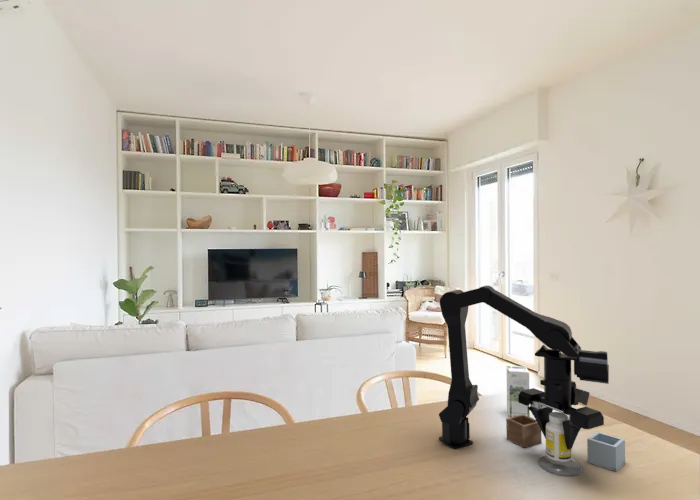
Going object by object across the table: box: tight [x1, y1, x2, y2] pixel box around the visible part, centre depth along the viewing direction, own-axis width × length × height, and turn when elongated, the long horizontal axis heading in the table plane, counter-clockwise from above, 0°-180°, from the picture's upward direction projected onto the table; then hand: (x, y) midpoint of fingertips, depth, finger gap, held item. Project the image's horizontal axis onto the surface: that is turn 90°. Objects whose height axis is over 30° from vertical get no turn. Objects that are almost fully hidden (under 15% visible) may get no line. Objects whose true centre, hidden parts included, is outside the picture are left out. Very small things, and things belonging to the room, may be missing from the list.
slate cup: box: [586, 431, 626, 473], centre depth 101 cm, size 6×6×6 cm
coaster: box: [537, 454, 582, 477], centre depth 100 cm, size 9×9×1 cm
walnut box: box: [505, 414, 543, 449], centre depth 113 cm, size 6×6×6 cm
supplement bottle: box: [545, 411, 573, 462], centre depth 100 cm, size 5×5×10 cm
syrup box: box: [506, 365, 531, 418], centre depth 130 cm, size 6×6×14 cm
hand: (558, 443), depth 100 cm, fingers closed on supplement bottle, 5 cm apart
